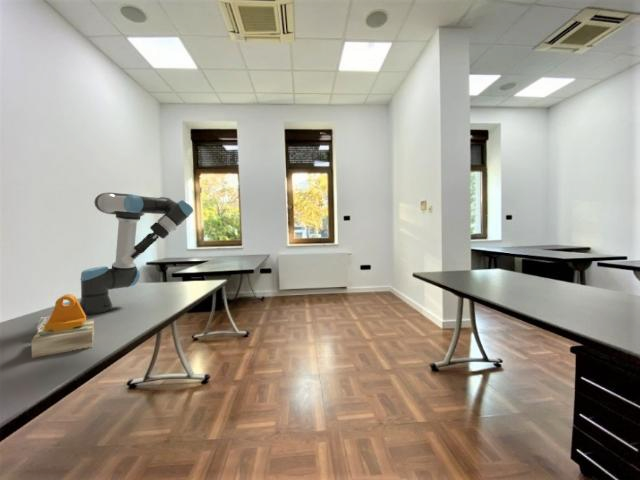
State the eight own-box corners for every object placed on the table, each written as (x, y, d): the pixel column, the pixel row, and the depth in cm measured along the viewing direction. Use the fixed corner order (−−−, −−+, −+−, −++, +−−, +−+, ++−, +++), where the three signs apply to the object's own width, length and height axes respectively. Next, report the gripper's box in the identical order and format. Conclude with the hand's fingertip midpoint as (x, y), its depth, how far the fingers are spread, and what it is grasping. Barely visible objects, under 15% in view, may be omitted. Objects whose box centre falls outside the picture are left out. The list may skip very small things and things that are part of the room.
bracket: (43, 333, 103) (42, 299, 103) (50, 327, 109) (49, 295, 109) (81, 328, 108) (81, 296, 108) (86, 322, 115) (85, 292, 114)
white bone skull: (70, 319, 131) (73, 307, 126) (74, 336, 127) (77, 324, 123) (33, 326, 122) (35, 313, 117) (36, 344, 118) (38, 332, 113)
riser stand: (41, 341, 112) (41, 325, 112) (94, 333, 121) (94, 318, 121) (31, 358, 97) (31, 339, 97) (92, 346, 107) (91, 329, 106)
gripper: (174, 233, 124) (133, 270, 115) (165, 233, 144) (130, 265, 135) (160, 220, 120) (117, 258, 112) (153, 222, 140) (116, 254, 132)
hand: (124, 262), depth 124 cm, fingers open, 13 cm apart
